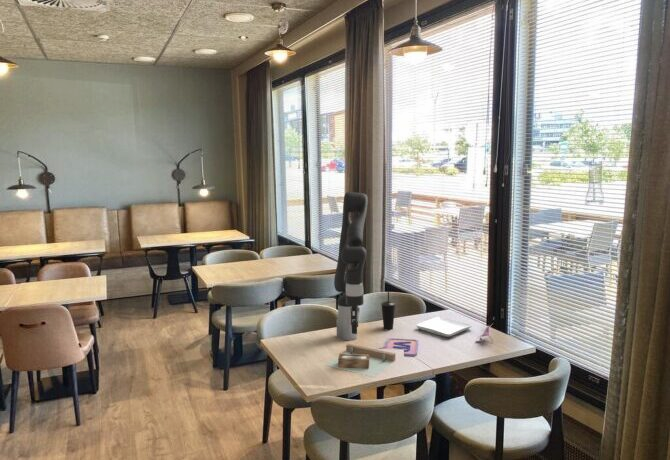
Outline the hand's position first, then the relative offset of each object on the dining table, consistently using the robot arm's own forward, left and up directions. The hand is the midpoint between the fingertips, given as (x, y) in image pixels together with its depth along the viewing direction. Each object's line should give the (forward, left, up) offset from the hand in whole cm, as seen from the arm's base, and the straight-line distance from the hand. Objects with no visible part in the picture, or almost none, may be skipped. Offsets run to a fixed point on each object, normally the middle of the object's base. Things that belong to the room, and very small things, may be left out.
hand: (355, 330), depth 219 cm
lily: (+39, +58, -17) cm, 72 cm away
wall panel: (+1, +3, -17) cm, 17 cm away
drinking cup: (-9, +51, -17) cm, 55 cm away
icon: (+6, +29, -18) cm, 35 cm away
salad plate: (+17, +63, -17) cm, 68 cm away
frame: (0, -1, -16) cm, 16 cm away
